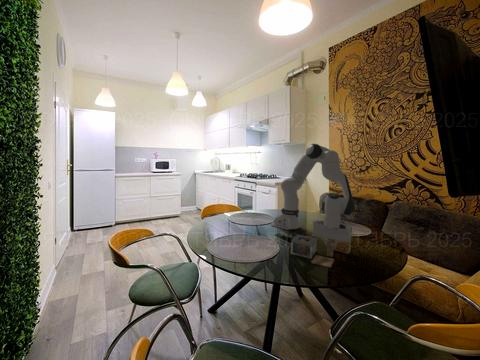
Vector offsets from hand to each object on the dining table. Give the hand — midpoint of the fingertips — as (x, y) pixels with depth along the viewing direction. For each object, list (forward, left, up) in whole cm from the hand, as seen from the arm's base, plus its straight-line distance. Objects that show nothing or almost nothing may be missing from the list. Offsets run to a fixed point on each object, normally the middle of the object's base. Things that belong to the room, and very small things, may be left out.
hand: (330, 246), depth 132 cm
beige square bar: (0, 0, -6) cm, 6 cm away
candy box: (+5, +10, -6) cm, 13 cm away
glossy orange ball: (-14, -4, -2) cm, 15 cm away
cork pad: (-2, -10, -6) cm, 12 cm away
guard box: (-14, -4, -6) cm, 16 cm away
